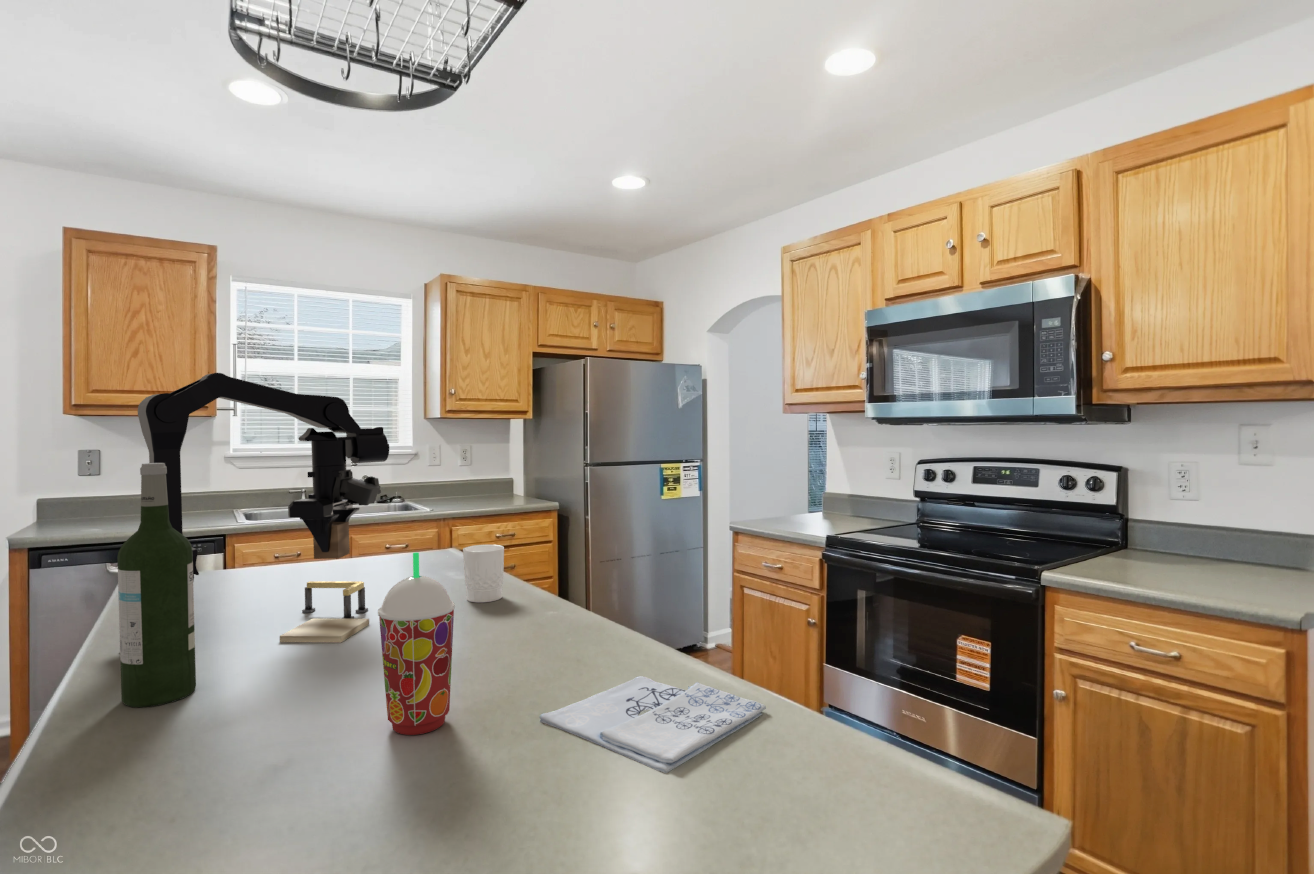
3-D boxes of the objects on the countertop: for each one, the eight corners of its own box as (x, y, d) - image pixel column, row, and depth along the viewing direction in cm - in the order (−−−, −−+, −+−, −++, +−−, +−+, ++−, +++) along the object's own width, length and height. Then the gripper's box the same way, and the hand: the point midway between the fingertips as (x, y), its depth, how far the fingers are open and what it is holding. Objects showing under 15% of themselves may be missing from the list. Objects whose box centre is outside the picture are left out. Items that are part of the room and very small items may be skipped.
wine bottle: (210, 687, 95) (205, 461, 94) (154, 710, 87) (147, 465, 87) (164, 681, 97) (158, 461, 96) (105, 704, 90) (98, 465, 89)
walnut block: (338, 558, 130) (337, 525, 130) (313, 558, 130) (312, 525, 130) (349, 553, 134) (348, 521, 134) (326, 553, 134) (325, 522, 134)
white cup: (513, 596, 142) (512, 546, 142) (484, 605, 136) (483, 553, 135) (484, 591, 146) (484, 543, 146) (455, 600, 140) (454, 549, 140)
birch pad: (341, 642, 114) (341, 636, 114) (279, 642, 114) (279, 635, 114) (369, 624, 124) (369, 618, 124) (312, 624, 124) (312, 618, 124)
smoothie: (380, 716, 85) (377, 549, 85) (453, 705, 88) (450, 544, 88) (379, 746, 77) (376, 562, 77) (459, 733, 80) (456, 556, 80)
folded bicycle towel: (667, 780, 71) (667, 759, 71) (535, 725, 84) (534, 706, 84) (769, 718, 85) (769, 700, 85) (643, 679, 98) (643, 663, 98)
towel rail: (349, 621, 126) (349, 590, 125) (285, 621, 126) (284, 590, 126) (368, 610, 133) (367, 581, 133) (306, 610, 133) (306, 581, 133)
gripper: (349, 468, 122) (352, 559, 123) (392, 461, 141) (395, 540, 141) (285, 469, 122) (288, 560, 123) (336, 461, 141) (339, 540, 142)
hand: (332, 549), depth 132 cm, fingers closed on walnut block, 4 cm apart
